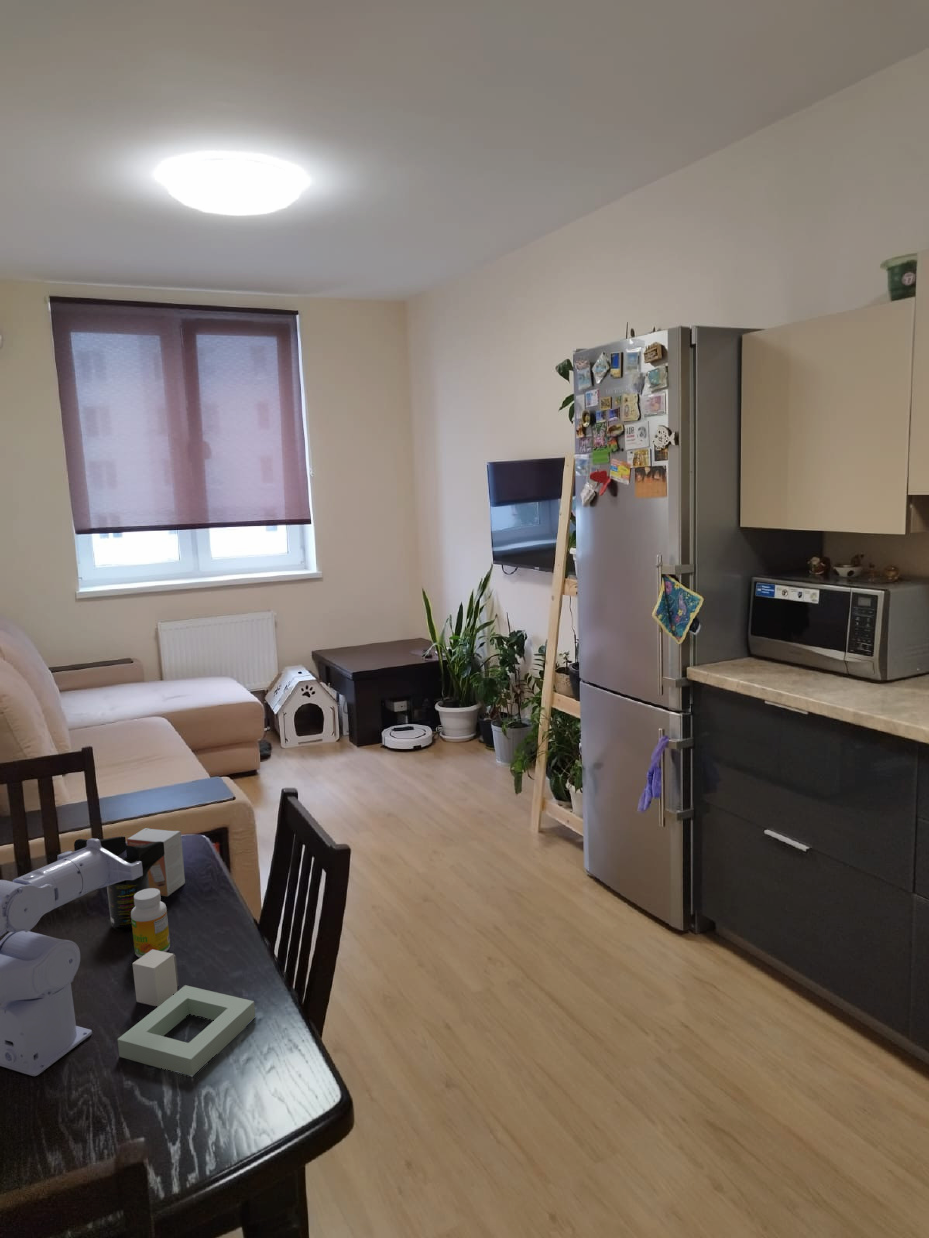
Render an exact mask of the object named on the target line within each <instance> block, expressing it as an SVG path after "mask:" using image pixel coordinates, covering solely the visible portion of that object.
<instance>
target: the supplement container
mask: <svg viewBox="0 0 929 1238" xmlns="http://www.w3.org/2000/svg"><path fill="white" fill-rule="evenodd" d="M122 859H123V860H125V859H124V858H122ZM148 888H149V879H148V872H147V874H146V876H145V877H144V880H143V882H141V883H140V884H138V885H129V884H126V880H124V881H121V882H118V883H115V884H112V885H109V886H106V890H107V891H106V892H107V900H108V908H109V916H110V924H111V927H112V928H113V929H114V930H116V931H119V932H131V931H132V932H133V930H132V921H131V911H132V909H133V908H134V907H135V905H134V895H135V894H136V893H137V892H139V891H141V890H144V889H148Z"/></svg>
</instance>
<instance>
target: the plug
mask: <svg viewBox="0 0 929 1238" xmlns="http://www.w3.org/2000/svg"><path fill="white" fill-rule="evenodd" d="M132 970H133V971H132V972H133V980H134V982H133V983H134V990H135V998H136V1002H137V1003H140V1004H145V1005H149V1006H151V1007H152V1006H153V1007H156V1006H157V1007H158V1006H160V1005H161V1004H162V1003H164V1002H165V1001H166V1000H167V999H169V998H170V997H171V996H172V995H173V994H175V993H176V992H177V991H178V988H179V987H180V984H179V974H178V963H177V956H176V955H175V953H172V952H171V953H170V952H168V951H166V952H163V951H158V950H153V949H152V950H151V951H149V952H148V953H146V954H145V955H143V956H142V957H141V958H140V957H138V959H136V960H135V961H134V962H132ZM178 986H179V987H178ZM157 1007H156V1008H157Z"/></svg>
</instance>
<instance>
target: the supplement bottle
mask: <svg viewBox="0 0 929 1238" xmlns="http://www.w3.org/2000/svg"><path fill="white" fill-rule="evenodd" d="M161 898H162V897H161V895H160V891H159V890H158V889H155V888H148V889H144V890H141V891H139V892H137V893H136V894H135V895H134V905H135V907H134V908H133V909H132V911H131V921H132V938H133V947H134V948H133V949H134V954H135V955H136V957H138V958H141V957H142V956H143V955H145V954H146V953H148V952H149V951H151V950H152V949H153V950H158V951H163V952H168V950H170V947H171V939H170V930H169V922H168V921H169V920H168V911H167V910H168V909H167V906H166V903H165V902H163V901H161V900H162V899H161Z"/></svg>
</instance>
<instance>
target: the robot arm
mask: <svg viewBox="0 0 929 1238" xmlns="http://www.w3.org/2000/svg"><path fill="white" fill-rule="evenodd" d="M73 848H74V851H71V850H67V851H65V852H62V853H60V854H57V860H56V861H54V862H52V863H50V864H46V865H45V866H41V867H40V868H38V869H35V870H32V871H30V872H28V873H26V874H24V875H21V876H19V877H16V878H14V879H12V881H11V880H6V879H0V938H1V937H2V936H4V935H5V936H4V937H3V938H2V939H1V940H0V1067H2V1068H6V1069H8V1070H12V1071H15V1072H18V1073H22V1074H25V1075H28V1076H32V1077H36V1076H39V1075H40V1074H41V1073H43V1072H44V1071H46V1069H48V1068H49V1067H51V1066H52V1065H53V1064H54V1063H56V1062H57V1061H58V1060H60V1059H61V1058H62V1057H64V1056H65V1055H66V1054H68V1053H69V1052H71V1050H73V1049H75V1047H78V1045H80V1043H81V1044H82V1042H83V1041H85V1040H86V1039H87V1038H89V1037H90V1036H91V1035H92V1034H93V1031H92V1029H90V1028H85V1027H82V1026H79V1025H77V1024H76V1023H77V1022H76V1018H75V1017H76V1014H75V1008H74V999H73V998H74V997H73V991H72V982H74V978H75V976H76V974H77V972H78V971H79V970H78V969H79V967H80V962H81V951H80V948H79V945H78V944H77V943H76V942H75V941H72V940H70V939H64V938H63V939H60V938H57V937H54V936H53V937H52V936H48V935H44V934H41V933H38V932H33V931H31V930H32V929H33V928H35V926H36V925H37V924H38V923H39V921H40V920H41V918H42V917H43V916H44V915H46V914H48V913H50V912H51V911H52V910H55V909H57V908H58V907H61V906H64V905H65V904H68V903H69V902H71V901H74V900H76V899H78V898H80V897H83V896H84V895H86V894H89V893H91V892H93V891H95V890H97V889H102V888H103V889H104V888H107V886H109V885H112V884H115V883H118V882H121V881H124V880H126V884H129V885H138V884H140V883H141V882H143V880H144V877H145V876H146V874H147V872H148V871H149V869H150V868H151V867H152V866H153V865H154V864H155V863H156V862H157V861H158V860H159V859H160V858H161V857H163V856H164V854H165V852H164V842H161V841H158V842H152V843H149V844H146V845H141V846H129V845H127V838H126V836H113V837H108V838H102V839H98V838H93V837H91V838H89V839H84V838H83V839H82V838H79V839H75V841H74V843H73ZM124 852H126V856H125V857H124V858H121V857H120V855H122V854H123V853H124ZM123 859H125V860H123ZM7 932H8V933H7ZM6 933H7V934H6Z"/></svg>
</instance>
